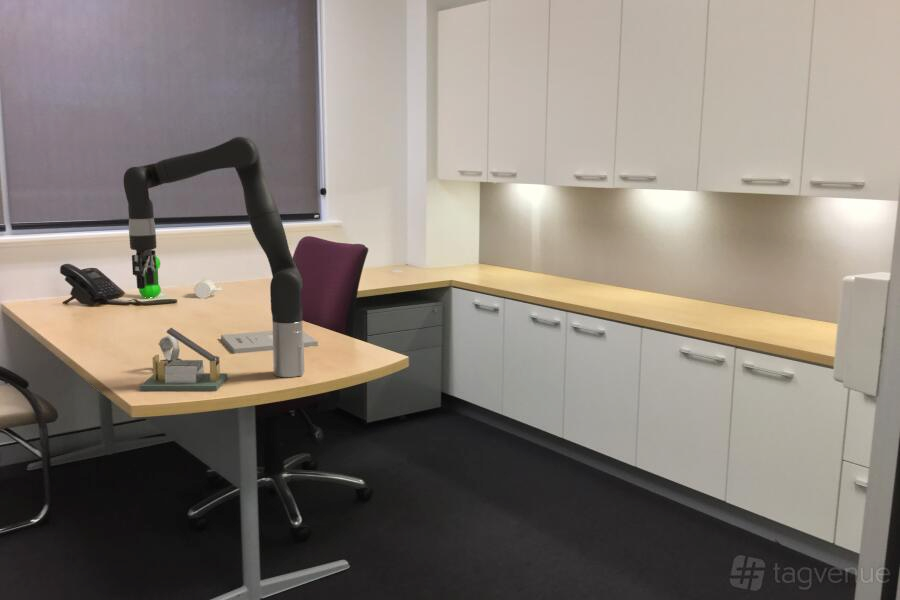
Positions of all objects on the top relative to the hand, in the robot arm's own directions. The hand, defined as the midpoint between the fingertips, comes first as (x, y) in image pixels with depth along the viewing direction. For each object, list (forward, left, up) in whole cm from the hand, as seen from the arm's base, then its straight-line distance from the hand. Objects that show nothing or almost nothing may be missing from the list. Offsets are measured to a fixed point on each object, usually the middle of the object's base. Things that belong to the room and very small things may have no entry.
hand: (146, 286), depth 247 cm
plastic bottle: (+45, -140, -28) cm, 149 cm away
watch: (-4, -7, -28) cm, 29 cm away
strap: (-16, +10, -17) cm, 25 cm away
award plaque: (-28, -46, -29) cm, 61 cm away
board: (-13, +10, -28) cm, 33 cm away
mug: (+18, -144, -28) cm, 148 cm away
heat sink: (-13, +10, -27) cm, 32 cm away
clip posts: (-14, +10, -27) cm, 32 cm away
